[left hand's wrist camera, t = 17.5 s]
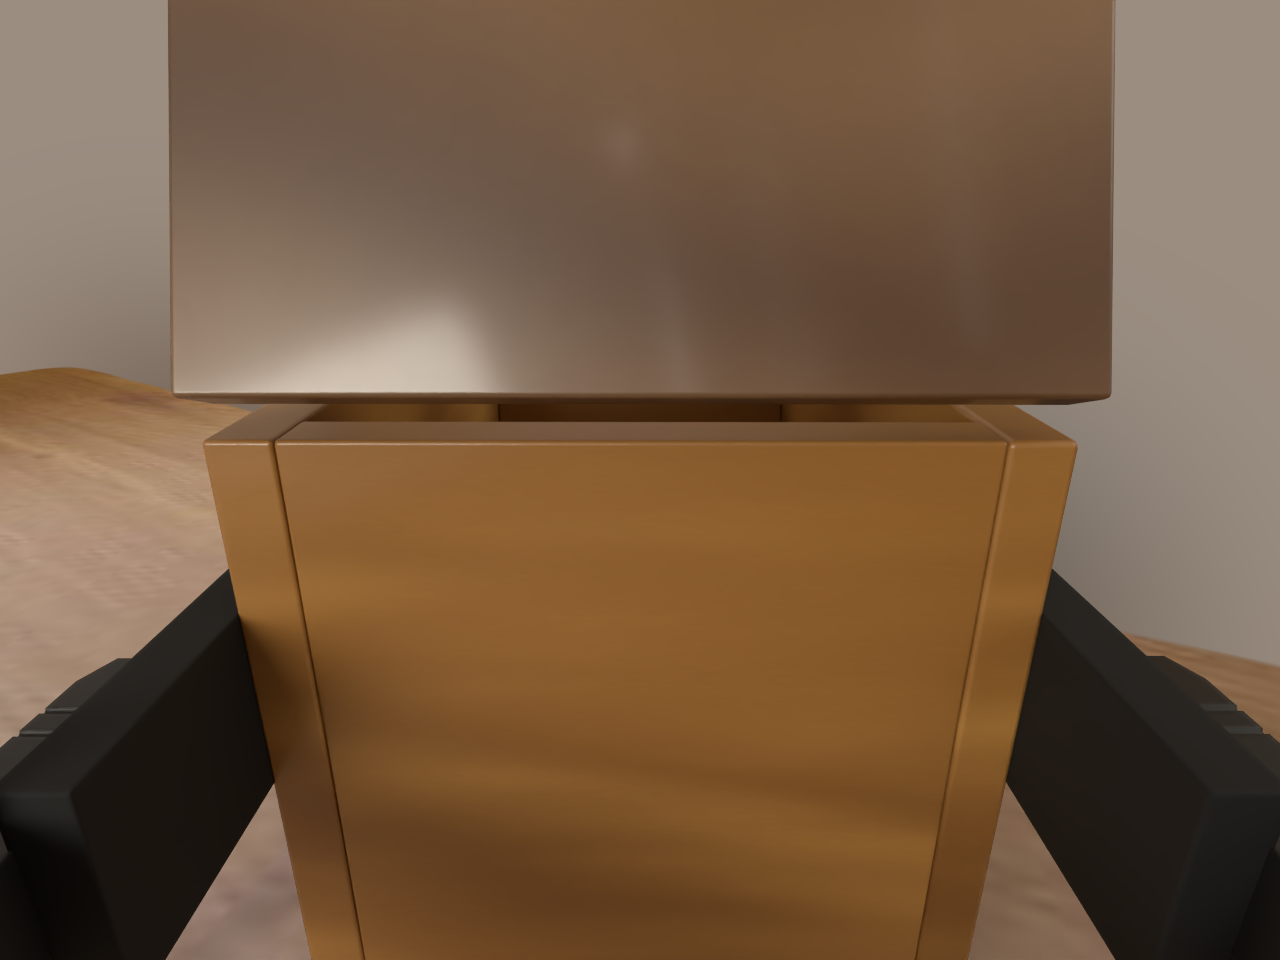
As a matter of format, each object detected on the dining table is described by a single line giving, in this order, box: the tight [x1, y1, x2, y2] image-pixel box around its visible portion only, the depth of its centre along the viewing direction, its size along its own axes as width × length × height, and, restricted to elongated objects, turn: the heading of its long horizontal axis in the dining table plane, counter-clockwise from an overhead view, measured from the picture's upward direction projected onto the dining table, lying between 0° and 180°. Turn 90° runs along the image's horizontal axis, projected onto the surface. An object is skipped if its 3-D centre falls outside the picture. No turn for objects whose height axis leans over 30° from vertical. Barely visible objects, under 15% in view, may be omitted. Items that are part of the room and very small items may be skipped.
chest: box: [203, 404, 1077, 960], centre depth 18 cm, size 15×10×10 cm
